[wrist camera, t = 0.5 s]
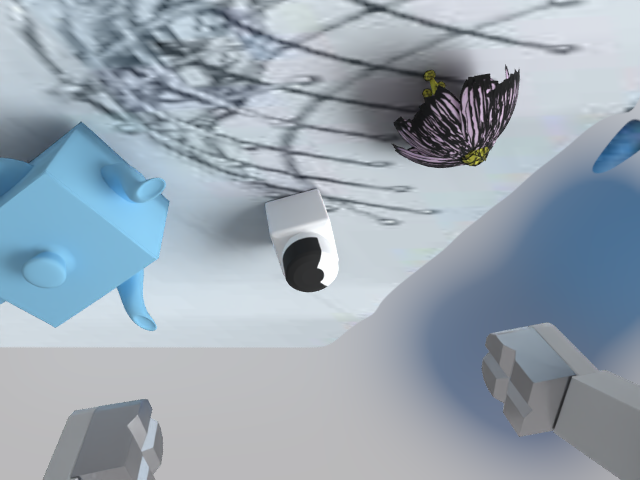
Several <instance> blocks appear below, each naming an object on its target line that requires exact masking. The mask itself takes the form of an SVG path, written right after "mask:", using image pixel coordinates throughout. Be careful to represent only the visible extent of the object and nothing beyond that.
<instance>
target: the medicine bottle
mask: <svg viewBox="0 0 640 480" xmlns="http://www.w3.org/2000/svg"><path fill="white" fill-rule="evenodd" d="M265 208H266V214H267V220H268V227H269V233H270V237H271V240H272V243H273V246H274V249H275V252H276V254H277V257H278V260H279V263H280V266H281V269H282V272H283V275H284V276H285V277H286V281H287V282H288V284H289V285H290V286H291V287H292V288H294V289H296V290H299V291H302V292H315V291H319V290H322V289H324V288H325V287H327V286H328V285H330V284H331V283H332V282H333V281H334V279H335V278H336V276H337V273H338V263H337V262H338V260H339V259H338V254H337V250H336V245H335V241H334V236H333V232H332V227H331V223H330V218H329V216H328V213H327V210H326V208H325V205H324V202H323V200H322V197H321V194H320V192H319V190H318V189H314V190H310V191H306V192H303V193H299V194H295V195H292V196H288V197H284V198H281V199H277V200H273V201H270V202H267V203H266V204H265Z"/></svg>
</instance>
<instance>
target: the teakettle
mask: <svg viewBox="0 0 640 480" xmlns="http://www.w3.org/2000/svg"><path fill="white" fill-rule="evenodd" d="M165 186H166V184H165V181H164V180H163V179H161V178H152V179H148V180H146V179H145V177H144V176H143V175H142V174H141V173H140V172H138V171H137V170H136V169H135V168H133V167H131V166H130V165H129V164H128V163H127V162H125V161H124V160H123V159H122V158H121V157H120V156H119V155H118V154H117V153H115V152H114V151H113V150H112V149H111V148H110V147H109V146H108V145H107V144H106V143H105V142H103V141H102V140H101V139H100V138H99V137H98V136H97V135H96V134H95V133H94V132H92V131H91V130H90V129H89V128H88V127H87V126H86V125H85V124H84V123H83V122H80V123H79V124H78V125H76V126H75V127H74V128H73V129H71V130H70V131H69V132H68V133H66V134H65V135H64V136H63V137H61V138H60V139H59V140H58V141H56V142H55V143H54V144H53V145H51V146H50V147H49V148H47V149H46V150H45V151H44V152H42V153H41V154H40V155H39V156H37V157H36V158H35V159H34V160H32V161H31V162H30V163H29V164H28V163H26V162H23V161H19V160H15V159H11V158H0V304H2V303H3V302H5V301H7V302H9V303H11V304H13V305H15V306H17V307H18V308H20V309H22V310H24V311H26V312H28V313H30V314H31V315H33V316H35V317H37V318H39V319H41V320H43V321H44V322H46V323H48V324H50V325H52V326H53V327H55V328H56V327H58V326H59V325H61V324H62V323H64V322H65V321H67V320H68V319H70V318H71V317H73V316H74V315H76V314H77V313H79V312H80V311H82V310H83V309H85V308H86V307H88V306H89V305H91V304H92V303H94V302H95V301H97V300H98V299H100V298H101V297H103V296H104V295H106V294H107V293H109V292H110V291H112V290H113V289H115V288H116V287H117V289H118V291H119V294H120V297H121V300H122V303H123V305H124V308H125V310H126V312H127V314H128V315H129V317H130V318H131V319H132V321H133V322H134V323H136V324H137V325H138V326H140V327H141V328H143V329H145V330H149V331H154V330H156V328H157V327H156V324H155V322H154V321H153V319H152V318H151V316H150V315H149V313H148V312H147V310H146V307H145V305H144V300H143V277H144V268H145V267H147V266H148V265H149V264H151V263H152V262H154V261H155V260H157V259H158V258H159V253H160V248H161V243H162V237H163V232H164V227H165V222H166V216H167V211H168V206H169V201H168V200H167V199H166V198H165V197H164V196H163V195H162V194H161V192H162V191H163V190H164V188H165Z"/></svg>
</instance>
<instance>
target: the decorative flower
mask: <svg viewBox="0 0 640 480" xmlns="http://www.w3.org/2000/svg"><path fill="white" fill-rule="evenodd" d="M505 71H506V79H505V80H504V82H502V83H500V84H498V81H494V80H492V79H491V78H490V74H484V75H478V76H474V77H468V80H467V79H466V81H465V83H464V85H463V87H462V90H461V94H460V101H459V100H458V99H457V98H456V97H455V96H454V95H453V94H452V93H451V92H450V91H448V90H447V89H445V86H446V85H445V83H443V82H438V83H437V82H436V81H435V80H434V78H435V75H436V74H435V72H434V71H433V70H429V71H427V72H425V74H424V79H425V80H426V81H430V85H431V89H432V91H431V90H430V89H424V91H423V93H422V95H423V96H424V99H425V103H424V104H422V105H420V106H419V108H420V110H419V111H418V112H417V114H416V115H415V117H414V119H413V120H410V119H408V120H406V119H402V117H400V118H398V119H397V120H396V121H395V122H394V125H395V128H396V129H397V131H398V132H399V134H400V135H401V136H402V137H403V138H404V139H405V140H406V141H407V142H408V143H409V144H410V145H411V146H413V147H411V148H409V149H408V150H406V149H404V148H402V147H399V146H396V145H394V144H392V145H393V146H394V148H395V149H396V150H395V151H396V152H398V153H399V154H400V155H402V156H404V157H405V158H407V159H409V160H411V161H413V162H415V163H418V164H421V165H424V166H427V167H435V168H449V167H455V166H460V165H469V166H477V165H479V164H480V163H482V162H483V161H484V160H485V161H486V158H487V156H488V153H489V151H490V150H491V149H492V147H493V145H494V143H495V142H496V140H497V138H498V137H499V136H500V134H501V133H502V132H503V131H504V129H505V127H506V126H507V124H508V122H509V120H510V118H511V116H512V114H513V111H514V108H515V105H516V101H517V97H518V90H519V80H520V75H519V70H518V72H517V71H516V70H515V73H514V74H510V77H509V73H508V69H507V66H506V64H505ZM432 93H433V95H432Z"/></svg>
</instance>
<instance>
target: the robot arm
mask: <svg viewBox="0 0 640 480" xmlns="http://www.w3.org/2000/svg"><path fill="white" fill-rule="evenodd" d="M485 346H486V347H487V349H488V350H489V353H488V354H487V355H486V356H485V357H484V358H483V362H482V373H483V378H484V381H485V383H486V386H487V388H488V390H489V391H490V393H491V394H492V396H493V397H494V398H496V399H498V400H499V401H501V402H503V403H504V409H503V413H504V414H505V416H506V418H507V419H508V420H509V422H510V423H511V425H512V427H513V428H514V430H515V431H516V433H517V434H518V436H519V437H520V436H526V435H531V434H537V433H541V432H548V431H553V430H554V433H555V434H557V435H558V436H560V437H561V438H562V439H564V440H565V441H567V442H568V443H569V444H571V445H572V446H574V447H575V448H576V449H578V450H579V451H581V452H582V453H584V454H585V455H586V456H588V457H589V458H591V459H592V460H594V461H595V462H596V463H598V464H599V465H601V466H602V467H603V468H605V469H606V470H608V471H609V472H611V473H612V474H613V475H615V476H616V477H618V478H619V479H621V480H640V385H637V384H635V383H633V382H631V381H628V380H626V379H624V378H622V377H620V376H617V375H615V374H613V373H611V372H609V371H606V370H603V371H599V370H598V369H597V368H596V367H595V366H594V365H593V364H592V363H591V362H590V361H589V360H588V359H587V358H586V357H585V356H584V355H583V354H582V353H581V352H580V351H579V350H578V349H577V348H576V347H575V346H574V345H573V344H572V343H571V342H570V341H569V340H568V339H567V338H566V337H565V336H564V335H563V334H562V333H561V332H560V331H559V330H558V329H557V328H556V327H555V326H554V325H552V324H550V323H542V324H537V325H532V326H528V327H521V328H516V329H511V330H506V331H501V332H496V333H491V334H489V335H488V337H487V339H486V344H485ZM151 413H152V407H151V405H150V403H149V401H148V400H147V399H141V400H135V401H129V402H123V403H116V404H110V405H105V406H99V407H94V408H88V409H82V410H76V411H74V412H73V413H72V414H71V415H70V416H69V418H68V420H67V422H66V425H65V427H64V430H63V432H62V434H61V437H60V439H59V442H58V444H57V446H56V449H55V451H54V454H53V456H52V458H51V461H50V463H49V466H48V468H47V470H46V473H45V475H44V477H43V480H155V478H154V476H153V474H154V473H155V472H156V470H157V469H158V468H159V466H160V465H161V461H162V455H163V437H162V432H161V428H160V426H159V423H158V422H157V421H156V420H154V419H152V418H151Z"/></svg>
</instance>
